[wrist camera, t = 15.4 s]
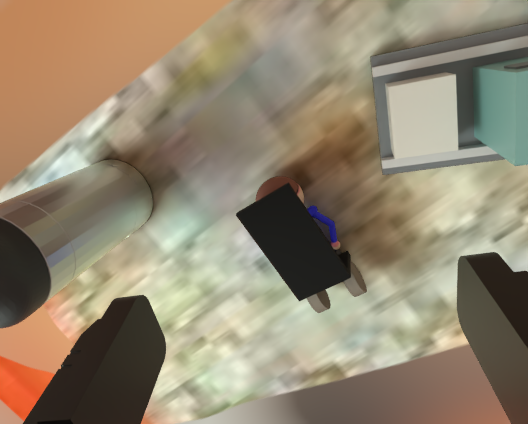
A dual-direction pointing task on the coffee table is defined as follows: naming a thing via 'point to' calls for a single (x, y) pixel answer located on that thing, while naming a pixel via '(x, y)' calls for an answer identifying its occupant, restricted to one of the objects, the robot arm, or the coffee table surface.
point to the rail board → (460, 63)
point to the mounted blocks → (423, 115)
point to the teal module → (502, 108)
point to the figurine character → (299, 243)
